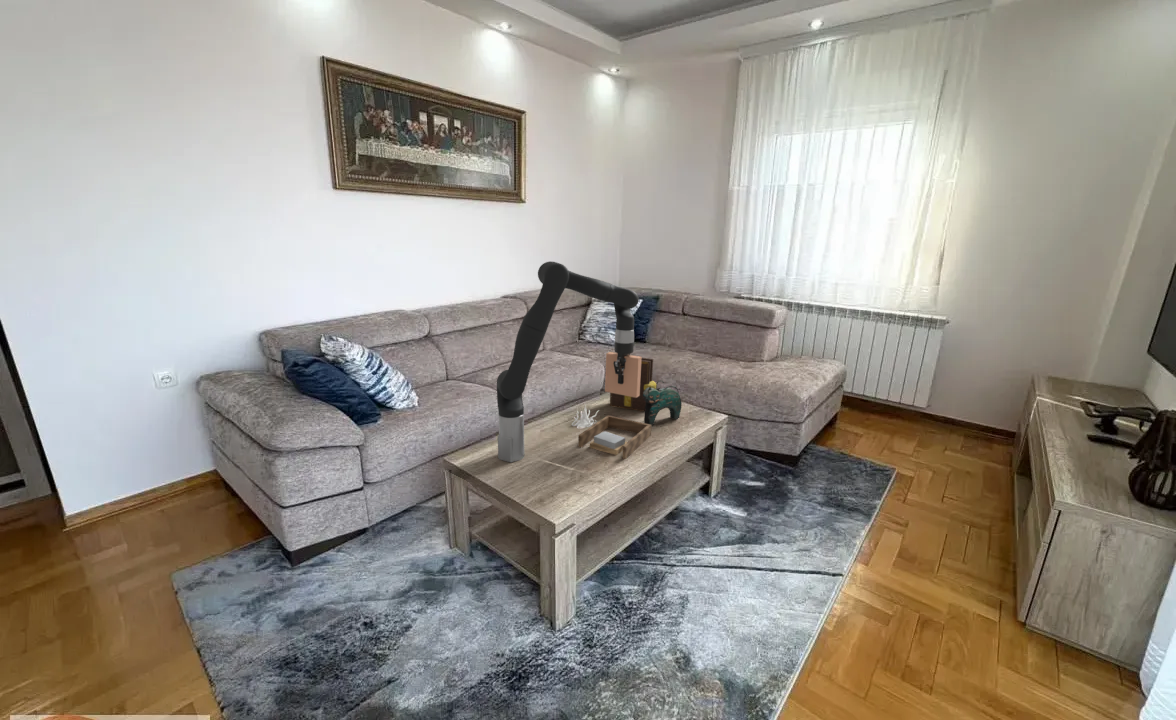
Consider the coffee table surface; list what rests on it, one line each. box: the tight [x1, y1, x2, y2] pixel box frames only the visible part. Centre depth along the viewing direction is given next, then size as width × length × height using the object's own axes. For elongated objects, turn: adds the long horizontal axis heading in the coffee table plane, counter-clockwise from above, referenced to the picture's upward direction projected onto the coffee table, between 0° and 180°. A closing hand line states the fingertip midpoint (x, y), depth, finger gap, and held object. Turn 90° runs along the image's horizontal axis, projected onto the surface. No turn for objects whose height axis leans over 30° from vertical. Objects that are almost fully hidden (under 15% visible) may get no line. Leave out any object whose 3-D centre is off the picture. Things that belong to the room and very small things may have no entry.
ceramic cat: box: [643, 379, 683, 426], centre depth 218 cm, size 20×6×20 cm, turn 119°
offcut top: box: [593, 430, 626, 449], centre depth 193 cm, size 7×10×2 cm
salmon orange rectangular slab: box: [604, 351, 643, 398], centre depth 196 cm, size 3×14×16 cm, turn 61°
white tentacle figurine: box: [571, 404, 600, 429], centre depth 215 cm, size 9×12×9 cm
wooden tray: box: [577, 414, 653, 460], centre depth 199 cm, size 25×20×5 cm
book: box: [609, 357, 657, 412], centre depth 233 cm, size 22×8×25 cm, turn 68°
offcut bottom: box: [589, 440, 628, 456], centre depth 194 cm, size 9×12×2 cm
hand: (622, 382), depth 197 cm, fingers closed on salmon orange rectangular slab, 3 cm apart
